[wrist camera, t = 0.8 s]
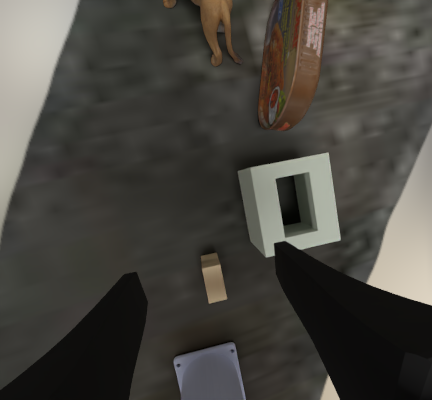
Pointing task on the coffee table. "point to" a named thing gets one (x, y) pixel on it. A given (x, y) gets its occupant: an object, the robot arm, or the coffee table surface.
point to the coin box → (306, 196)
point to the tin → (291, 61)
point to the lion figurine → (214, 25)
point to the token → (213, 278)
